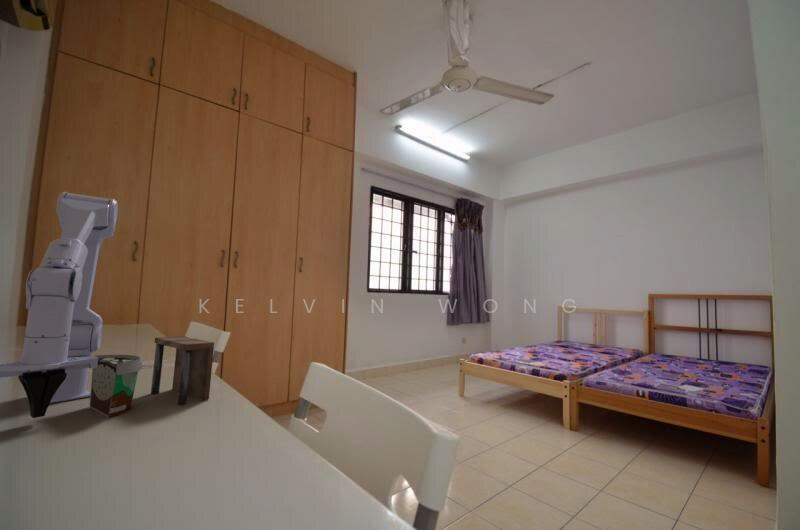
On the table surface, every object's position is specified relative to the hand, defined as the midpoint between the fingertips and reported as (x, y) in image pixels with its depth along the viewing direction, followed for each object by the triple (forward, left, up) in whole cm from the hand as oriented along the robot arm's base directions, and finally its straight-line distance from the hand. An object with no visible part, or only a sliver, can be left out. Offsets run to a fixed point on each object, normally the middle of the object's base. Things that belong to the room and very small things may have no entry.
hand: (37, 415), depth 62 cm
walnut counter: (0, +23, -1) cm, 23 cm away
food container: (0, +12, -2) cm, 12 cm away
